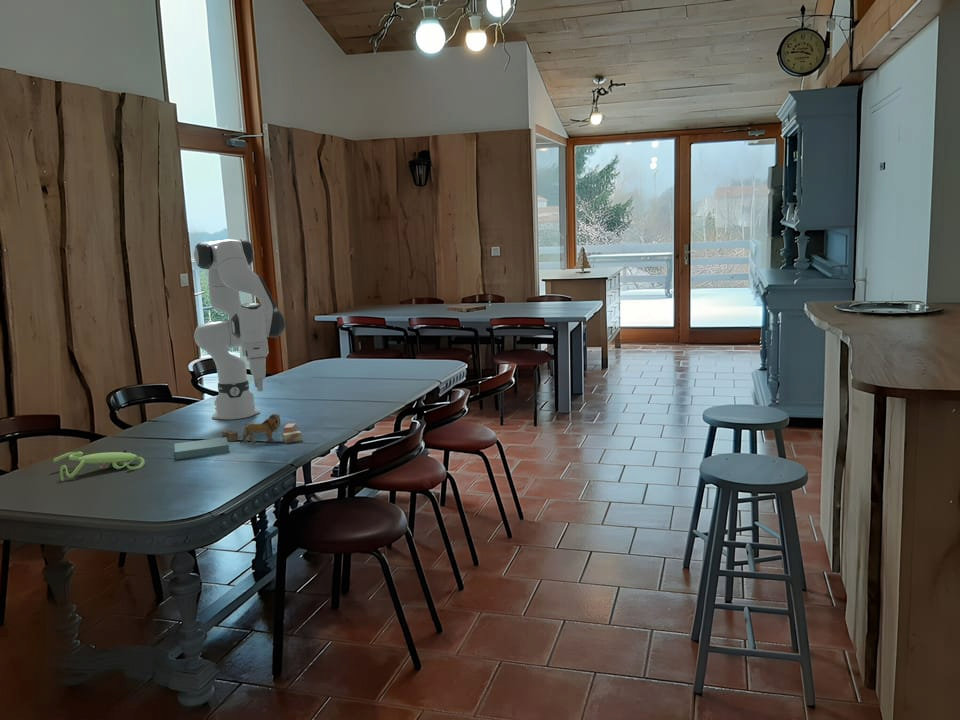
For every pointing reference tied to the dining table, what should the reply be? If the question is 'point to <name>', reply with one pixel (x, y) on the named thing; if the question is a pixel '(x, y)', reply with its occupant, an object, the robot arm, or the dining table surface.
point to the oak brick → (292, 436)
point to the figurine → (100, 460)
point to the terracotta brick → (290, 428)
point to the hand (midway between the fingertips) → (259, 389)
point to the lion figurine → (262, 428)
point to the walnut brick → (230, 435)
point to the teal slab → (201, 448)
